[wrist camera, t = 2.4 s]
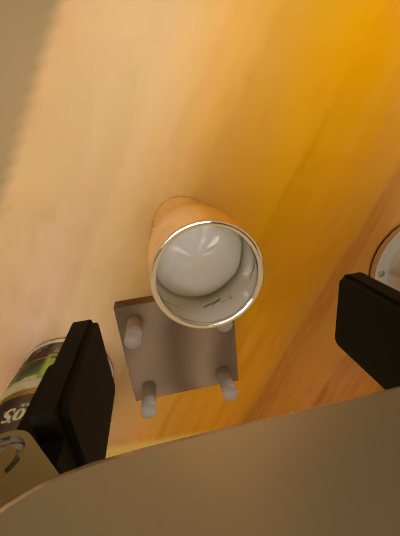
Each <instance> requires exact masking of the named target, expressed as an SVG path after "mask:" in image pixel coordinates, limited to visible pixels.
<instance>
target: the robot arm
mask: <svg viewBox="0 0 400 536" xmlns="http://www.w3.org/2000/svg"><path fill="white" fill-rule="evenodd" d="M335 340H336V342H337V344H338V345H339V347H341V348H342V349H343V350H344V351H345V352H346V353H347V354H348V355H349V356H350V357H351V358H352V359H353V360H354V361H355V362H356V363H358V364H359V365H360V366H361V367H362V368H363V369H364V370H365V371H366V372H367V373H368V374H369V375H370V376H371V377H372V378H373V379H375V380H376V381H377V382H378V383H379V384H380V385H381V386H382V387H383V388H384V389H385V390H382V391H378V392H373V393H369V394H365V395H361V396H356V397H352V398H348V399H344V400H339V401H335V402H331V403H327V404H322V405H318V406H314V407H310V408H305V409H301V410H297V411H293V412H289V413H284V414H280V415H276V416H272V417H268V418H264V419H259V420H255V421H251V422H247V423H243V424H239V425H235V426H231V427H227V428H222V429H218V430H214V431H210V432H206V433H202V434H198V435H194V436H190V437H185V438H181V439H177V440H174V441H170V442H165V443H161V444H157V445H153V446H149V447H145V448H141V449H138V450H134V451H131V452H127V453H124V454H120V455H116V456H113V457H109V458H106V459H105V456H106V450H107V443H108V436H109V429H110V422H111V416H112V409H113V402H114V395H115V384H114V380H113V376H112V372H111V369H110V365H109V361H108V358H107V354H106V350H105V347H104V343H103V339H102V336H101V332H100V328H99V325H98V323H93V322H92V321H91V320H85V321H79V322H74V323H73V324H72V326H71V328H70V330H69V332H68V334H67V336H66V338H65V340H64V343H63V345H62V347H61V349H60V351H59V353H58V355H57V357H56V359H55V361H54V363H53V364H52V365H50V366H48V368H47V369H46V371H45V373H44V375H43V377H42V379H41V381H40V383H39V385H38V387H37V389H36V391H35V393H34V395H33V397H32V399H31V401H30V403H29V405H28V407H27V409H26V411H25V413H24V415H23V417H22V419H21V421H20V423H19V425H18V427H17V429H16V430H13V431H8V432H5V433H2V434H0V536H400V226H399V227H398V228H397V229H396V230H394V231H393V232H392V233H391V234H390V235H389V236H388V237H387V238H386V239H385V241H384V242H383V244H382V245H381V246H380V248H379V250H378V252H377V253H376V255H375V258H374V261H373V263H372V267H371V273H370V276H368V275H366V274H364V273H361V272H359V273H353V274H347V275H345V276H344V277H343V279H341V280H340V283H339V295H338V307H337V319H336V331H335Z"/></svg>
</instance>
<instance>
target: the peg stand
mask: <svg viewBox="0 0 400 536" xmlns="http://www.w3.org/2000/svg"><path fill="white" fill-rule="evenodd" d="M114 312H115V316H116V320H117V324H118V328H119V332H120V336H121V340H122V345H123V349H124V353H125V357H126V361H127V365H128V369H129V373H130V378H131V382H132V386H133V390H134V394H135V398H136V401H139V400H142V406H141V415H142V417H144V418H152V417H154V416H155V415H156V397H159V396H163V395H168V394H173V393H178V392H183V391H188V390H193V389H198V388H202V387H207V386H212V385H217V384H220V386H221V389H222V392H223V396H224V398H225V400H227V401H233V400H235V399H236V398H237V396H238V393H237V390H236V387H235V385H234V382H233V381H237V380H238V372H237V358H236V344H235V329H234V320H233V321H231V322H229V323H227V324H224V325H222V326H218V327H213V328H192V327H188V326H185V325H182V324H179V323H177V322H175V321H174V320H172V319H171V318H169V317H168V316H167V315H166V314H165V313H164V312H163V311H162V310H161V309H160V308H159V306H158V305H157V303H156V301H155V299H154V297H153V296H150V297H144V298H138V299H132V300H126V301H120V302H115V306H114Z"/></svg>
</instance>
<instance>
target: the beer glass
mask: <svg viewBox="0 0 400 536" xmlns="http://www.w3.org/2000/svg"><path fill="white" fill-rule="evenodd" d="M147 267H148V273H149V278H150V287H151V292H152V295H153V297H154V299H155V301H156V303H157V305H158V306H159V308H160V309H161V310H162V311H163V312H164V313H165V314H166V315H167V316H168V317H169V318H171V319H172V320H174V321H175V322H177V323H179V324H182V325H185V326H188V327H192V328H213V327H218V326H222V325H224V324H227V323H229V322H231V321H233V320H235V319H237V318H238V317H239V316H241V315H242V314H243V313H244V312H246V311H247V310H248V309H249V307H250V306H251V305H252V304H253V302H254V301H255V299H256V298H257V296H258V294H259V292H260V289H261V287H262V283H263V278H264V262H263V258H262V254H261V252H260V249H259V247H258V245H257V244H256V242H255V241H254V239H253V238H252V237H251V236H250V235H249V234H248V233H247V232H246V231H244V230H243V228H242V227H241V226H240V225H239V224H238V223H237V222H236V221H234V220H233V219H232V218H231V217H229V216H228V215H227V214H225V213H224V212H222V211H220V210H218V209H216V208H214V207H211V206H208V205H203V204H201V203H200V202H198V201H197V200H195V199H192V198H189V197H175V198H172V199H170V200H168V201H166V202H165V203H163V204H162V205H161V206H160V208H159V209H158V210H157V212H156V214H155V217H154V220H153V231H152V233H151V235H150V238H149V243H148V248H147Z"/></svg>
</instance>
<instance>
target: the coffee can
mask: <svg viewBox="0 0 400 536" xmlns="http://www.w3.org/2000/svg"><path fill="white" fill-rule="evenodd" d="M64 340H65V338H60V339H54V340H50V341H47V342H45V343H43V344H41V345H39V346H38V347H36V348H35V349H34V350H33V351H32V352H31V353H30V354H29V355H28V356H27V358H26V360H25V362H24V364H23V365H22V367H21V368H20V370H19V371H18V373H17V374H16V376H15V377H14V379H13V380H12V382H11V383H10V385H9V386H8V388H7V389H6V391H5V392H4V394H3V395H2V397H1V398H0V434H2V433H5V432H8V431H13V430H16V429H17V427H18V425H19V423H20V421H21V419H22V417H23V415H24V413H25V411H26V409H27V407H28V405H29V403H30V401H31V399H32V397H33V395H34V393H35V391H36V389H37V387H38V385H39V383H40V381H41V379H42V377H43V375H44V373H45V371H46V369H47V368H48V366H50V365H52V364H53V363H54V361H55V359H56V357H57V355H58V353H59V351H60V349H61V347H62V345H63V343H64ZM107 358H108V356H107ZM108 361H109V365H110V369H111V372H112V376H113V373H114V372H113V366H112V363H111V361H110V359H109V358H108Z"/></svg>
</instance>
